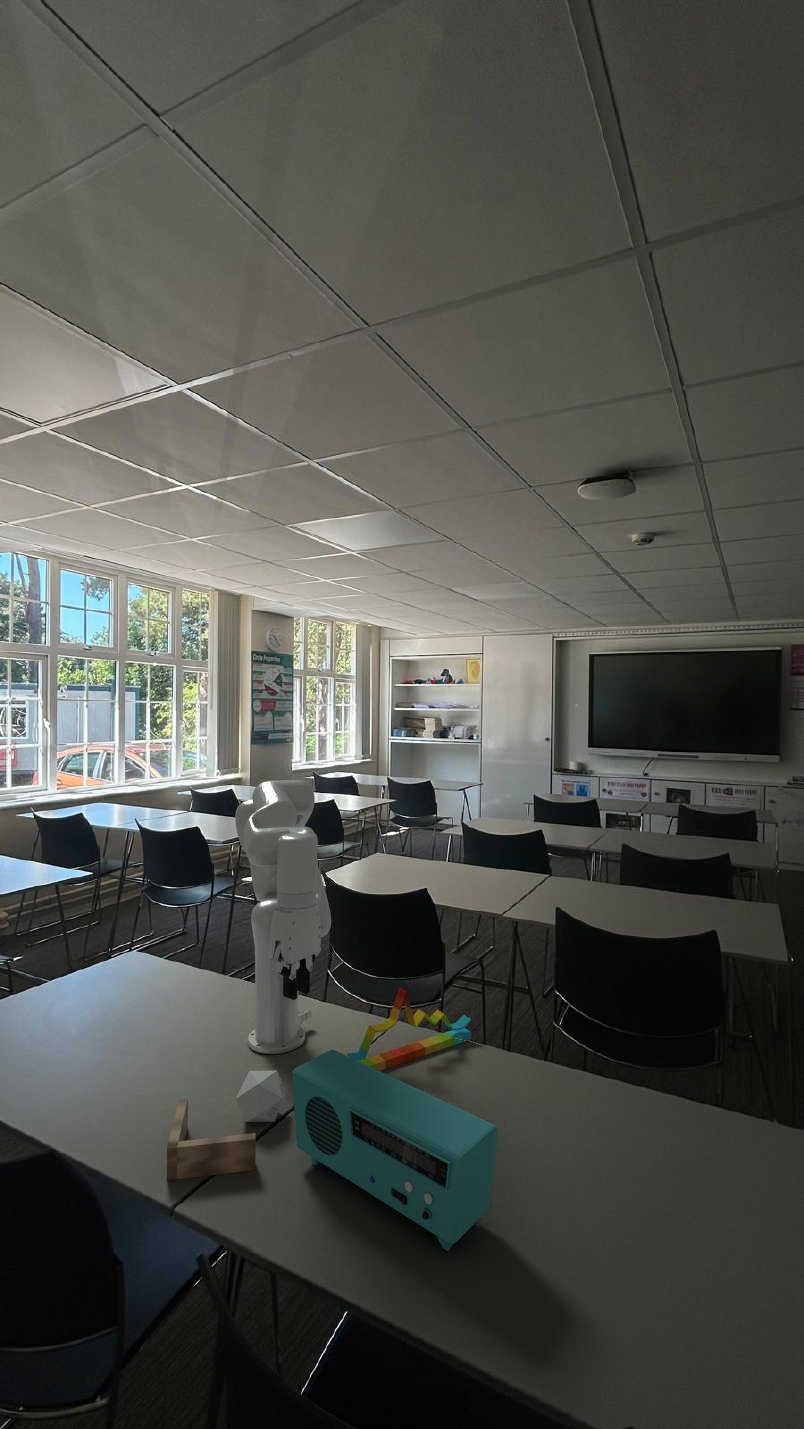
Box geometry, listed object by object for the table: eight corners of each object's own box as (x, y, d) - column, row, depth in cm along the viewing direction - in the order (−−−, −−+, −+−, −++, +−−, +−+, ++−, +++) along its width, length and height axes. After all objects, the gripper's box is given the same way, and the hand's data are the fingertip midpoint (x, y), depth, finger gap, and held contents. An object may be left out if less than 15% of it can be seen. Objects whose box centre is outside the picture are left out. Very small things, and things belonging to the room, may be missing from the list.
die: (261, 1142, 115) (293, 1088, 118) (220, 1112, 117) (253, 1059, 120) (269, 1131, 123) (299, 1080, 126) (231, 1103, 124) (261, 1054, 127)
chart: (462, 1034, 154) (462, 969, 154) (471, 1040, 151) (471, 973, 151) (345, 1073, 137) (346, 999, 137) (353, 1080, 134) (354, 1005, 134)
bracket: (183, 1125, 119) (183, 1096, 119) (260, 1166, 108) (260, 1135, 108) (130, 1157, 110) (130, 1127, 110) (207, 1205, 99) (207, 1172, 99)
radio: (285, 1162, 109) (286, 1070, 109) (332, 1132, 117) (332, 1046, 117) (456, 1277, 87) (457, 1161, 87) (499, 1230, 95) (500, 1124, 95)
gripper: (310, 887, 138) (310, 976, 138) (251, 905, 124) (251, 1005, 124) (339, 892, 133) (338, 985, 133) (281, 912, 120) (280, 1015, 120)
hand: (296, 993), depth 129 cm, fingers closed
